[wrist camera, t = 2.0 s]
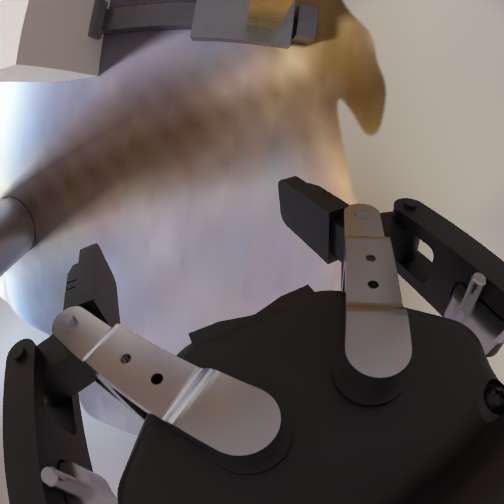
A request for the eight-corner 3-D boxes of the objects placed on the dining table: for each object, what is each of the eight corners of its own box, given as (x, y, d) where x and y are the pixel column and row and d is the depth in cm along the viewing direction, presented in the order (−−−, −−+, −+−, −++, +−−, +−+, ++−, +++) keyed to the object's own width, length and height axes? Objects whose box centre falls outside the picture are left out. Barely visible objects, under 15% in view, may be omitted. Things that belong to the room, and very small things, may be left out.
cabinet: (52, 82, 27) (-36, 82, 13) (70, -15, 21) (2, -53, 6) (102, 76, 28) (21, 62, 13) (121, -27, 21) (65, -82, 7)
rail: (85, 41, 25) (72, 36, 22) (90, 13, 24) (78, 6, 20) (307, 45, 28) (315, 38, 25) (310, 16, 26) (318, 7, 23)
